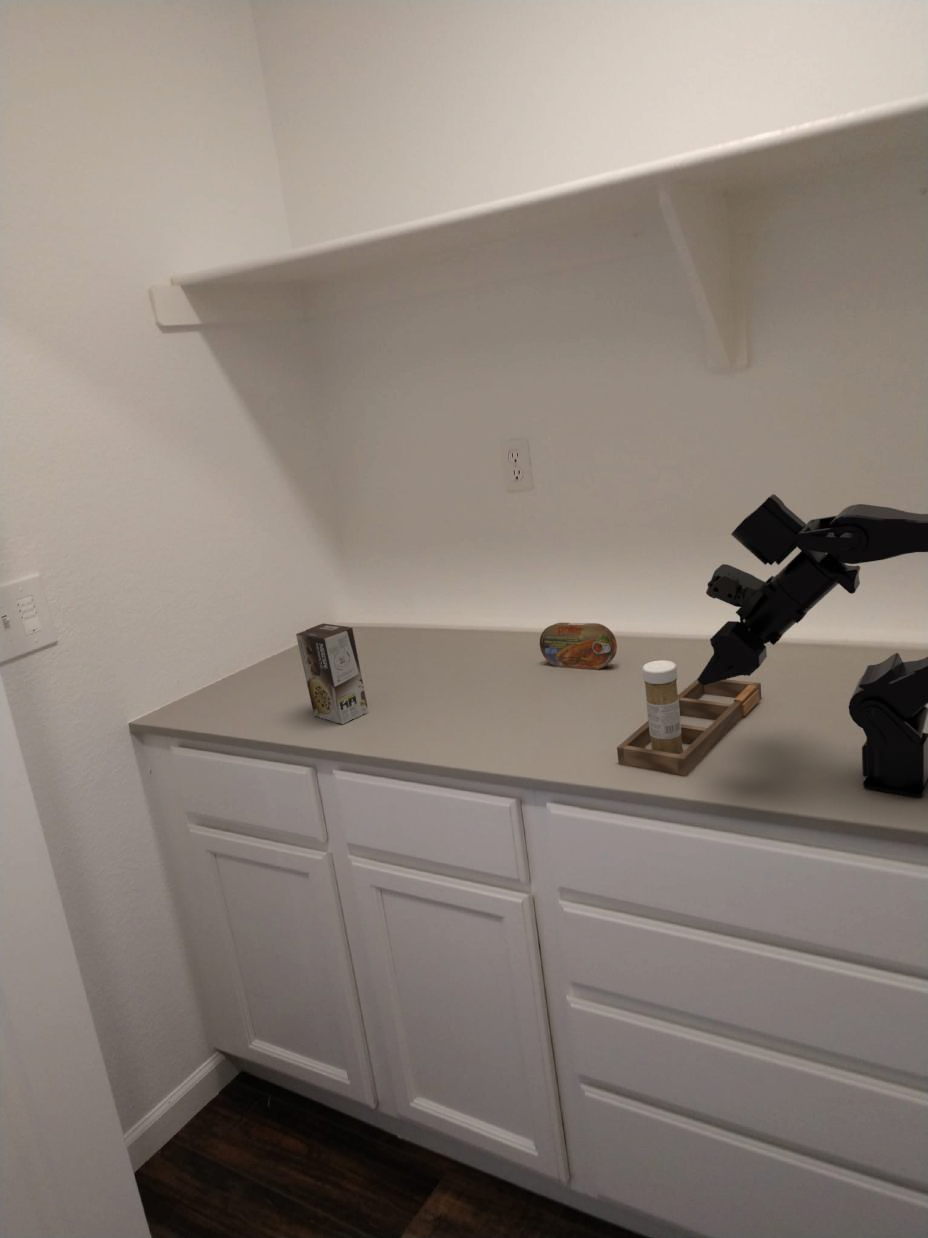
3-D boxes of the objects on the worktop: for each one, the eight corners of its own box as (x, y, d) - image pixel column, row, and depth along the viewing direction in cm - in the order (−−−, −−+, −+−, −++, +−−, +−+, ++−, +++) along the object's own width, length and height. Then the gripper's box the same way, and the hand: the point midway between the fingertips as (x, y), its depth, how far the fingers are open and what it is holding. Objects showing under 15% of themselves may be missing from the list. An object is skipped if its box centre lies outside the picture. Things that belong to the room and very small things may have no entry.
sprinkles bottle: (678, 745, 122) (670, 657, 118) (688, 758, 118) (680, 667, 114) (647, 750, 122) (638, 662, 118) (655, 764, 117) (646, 673, 114)
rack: (764, 698, 133) (763, 681, 132) (688, 776, 113) (686, 757, 112) (700, 690, 140) (699, 674, 139) (618, 763, 119) (616, 745, 118)
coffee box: (370, 712, 153) (354, 627, 148) (341, 725, 148) (324, 638, 144) (340, 703, 159) (323, 621, 155) (312, 716, 155) (294, 632, 151)
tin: (541, 666, 163) (536, 624, 160) (549, 660, 165) (543, 619, 163) (614, 671, 154) (609, 627, 152) (621, 665, 157) (616, 621, 154)
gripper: (764, 528, 112) (688, 606, 121) (722, 564, 97) (640, 650, 106) (829, 586, 110) (747, 661, 119) (797, 632, 95) (706, 714, 104)
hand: (711, 669), depth 112 cm, fingers open, 9 cm apart
